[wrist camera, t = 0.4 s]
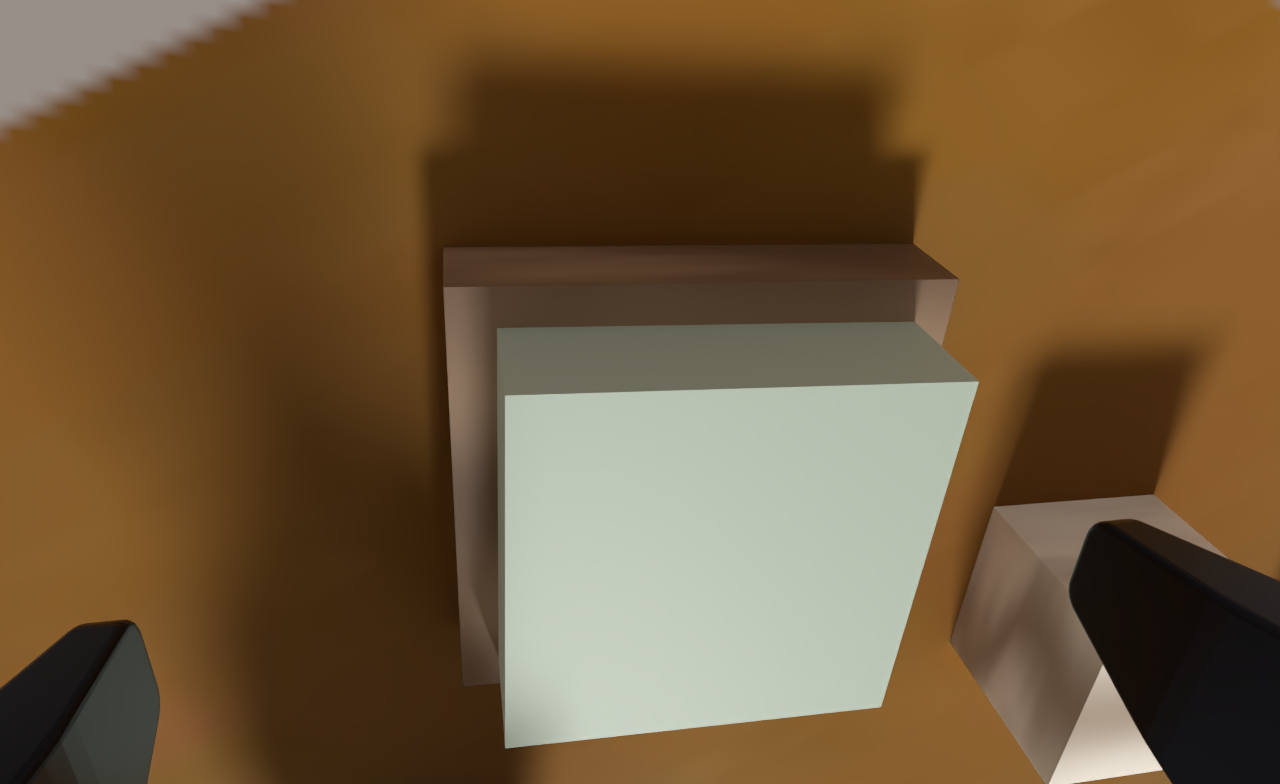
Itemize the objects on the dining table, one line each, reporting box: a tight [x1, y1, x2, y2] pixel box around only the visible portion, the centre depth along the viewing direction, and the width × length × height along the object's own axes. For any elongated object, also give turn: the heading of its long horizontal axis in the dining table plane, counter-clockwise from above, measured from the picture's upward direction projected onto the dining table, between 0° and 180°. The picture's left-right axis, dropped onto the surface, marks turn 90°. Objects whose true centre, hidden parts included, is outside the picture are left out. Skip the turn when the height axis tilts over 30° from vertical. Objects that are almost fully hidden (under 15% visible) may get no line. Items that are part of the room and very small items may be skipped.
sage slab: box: [497, 322, 979, 748], centre depth 21 cm, size 10×10×3 cm
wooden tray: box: [443, 244, 959, 687], centre depth 24 cm, size 12×12×3 cm
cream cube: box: [950, 495, 1228, 784], centre depth 28 cm, size 6×6×6 cm
